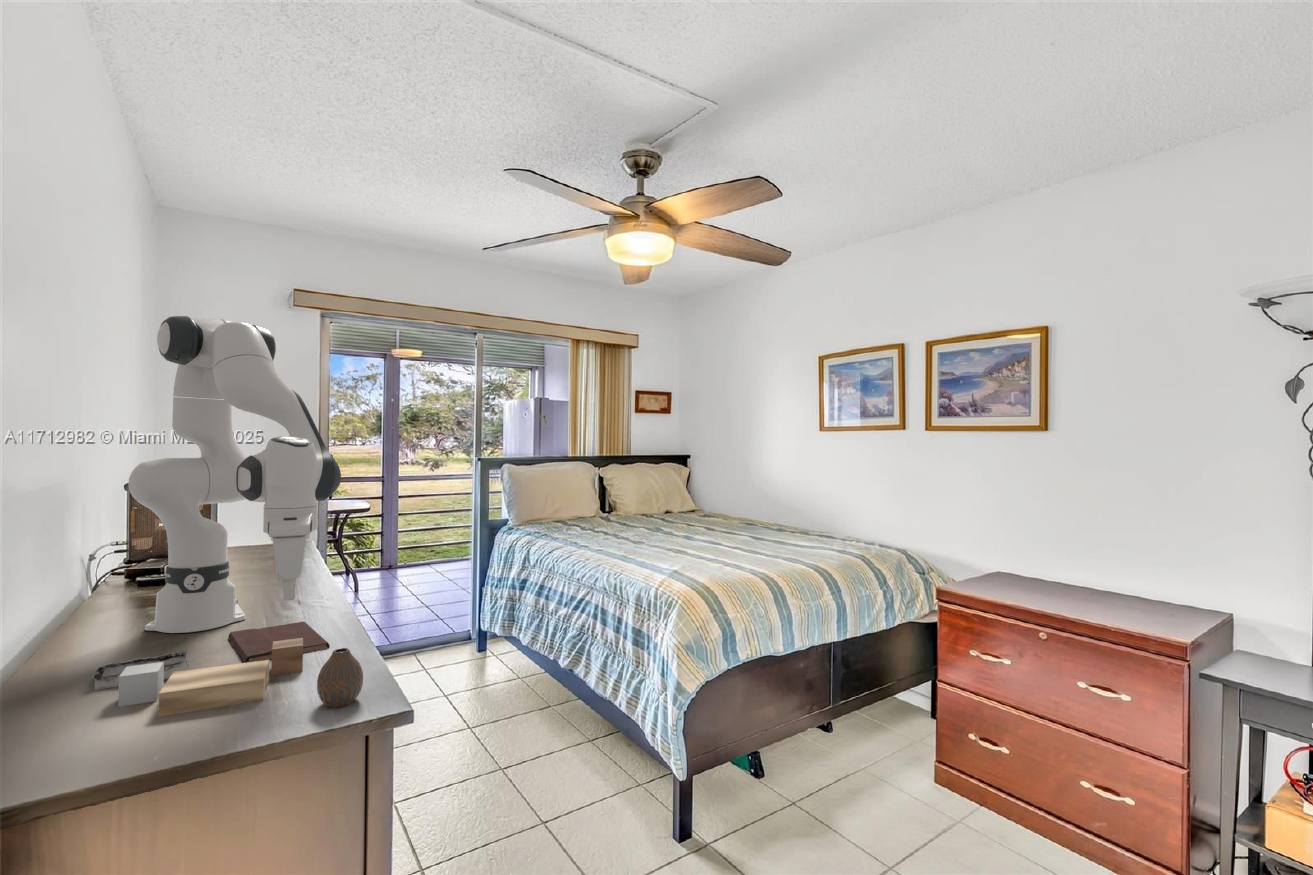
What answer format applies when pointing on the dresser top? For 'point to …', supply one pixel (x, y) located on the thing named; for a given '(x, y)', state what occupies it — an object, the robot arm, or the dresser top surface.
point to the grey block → (140, 683)
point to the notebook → (261, 640)
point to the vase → (340, 679)
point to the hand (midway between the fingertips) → (289, 594)
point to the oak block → (214, 687)
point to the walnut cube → (287, 656)
